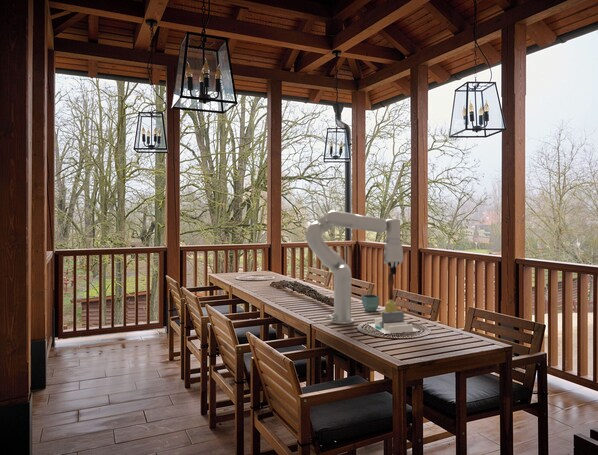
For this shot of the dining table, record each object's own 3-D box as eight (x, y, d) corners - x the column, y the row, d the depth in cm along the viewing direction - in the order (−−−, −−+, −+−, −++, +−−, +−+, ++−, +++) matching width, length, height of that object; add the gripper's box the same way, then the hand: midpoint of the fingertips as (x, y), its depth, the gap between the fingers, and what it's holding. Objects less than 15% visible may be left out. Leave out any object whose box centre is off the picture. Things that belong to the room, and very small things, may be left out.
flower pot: (366, 312, 286) (366, 297, 285) (360, 309, 294) (361, 295, 294) (379, 311, 288) (379, 297, 288) (373, 308, 297) (373, 294, 296)
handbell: (386, 317, 272) (386, 274, 271) (377, 313, 284) (377, 272, 283) (405, 316, 275) (405, 274, 274) (395, 311, 287) (395, 271, 286)
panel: (384, 328, 244) (384, 313, 244) (382, 327, 247) (382, 312, 247) (403, 327, 247) (403, 312, 247) (400, 325, 250) (401, 310, 250)
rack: (384, 335, 235) (384, 327, 235) (367, 325, 254) (367, 318, 254) (419, 332, 240) (419, 324, 240) (400, 322, 259) (401, 316, 259)
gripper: (383, 241, 253) (383, 275, 253) (408, 241, 257) (408, 274, 257) (377, 241, 260) (377, 273, 261) (402, 240, 264) (401, 272, 265)
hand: (393, 274), depth 259 cm, fingers closed
